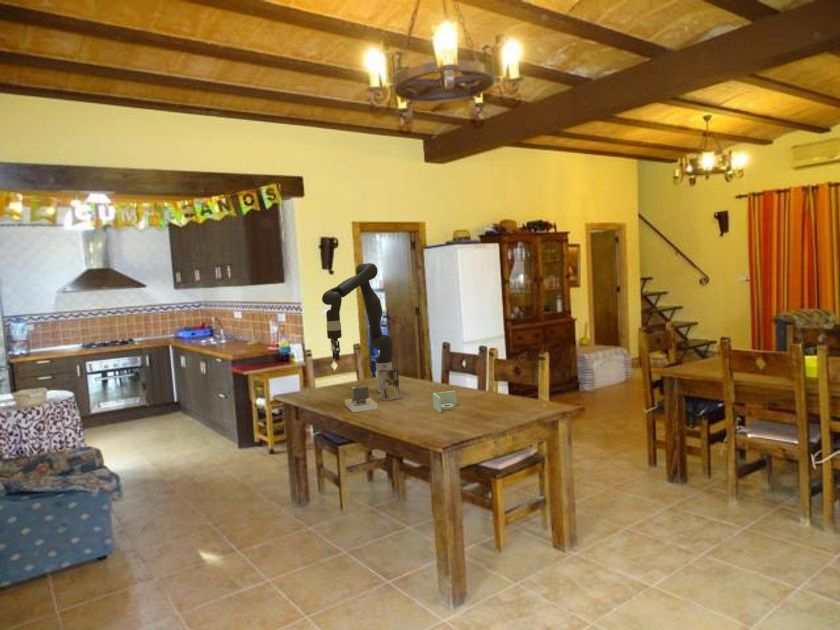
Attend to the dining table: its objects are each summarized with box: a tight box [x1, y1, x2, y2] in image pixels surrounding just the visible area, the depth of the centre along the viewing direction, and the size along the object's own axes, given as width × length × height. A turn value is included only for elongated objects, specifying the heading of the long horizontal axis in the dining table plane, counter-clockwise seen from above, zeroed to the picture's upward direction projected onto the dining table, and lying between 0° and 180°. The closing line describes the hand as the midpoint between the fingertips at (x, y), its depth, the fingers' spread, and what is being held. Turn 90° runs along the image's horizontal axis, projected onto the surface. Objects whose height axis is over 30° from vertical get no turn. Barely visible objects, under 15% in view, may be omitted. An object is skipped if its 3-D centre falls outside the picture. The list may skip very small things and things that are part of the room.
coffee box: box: [379, 368, 401, 402], centre depth 329 cm, size 9×6×16 cm
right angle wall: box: [432, 390, 457, 413], centre depth 300 cm, size 12×12×8 cm
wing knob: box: [351, 386, 370, 403], centre depth 312 cm, size 8×5×8 cm, turn 109°
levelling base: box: [344, 394, 378, 413], centre depth 314 cm, size 13×18×6 cm
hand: (336, 359), depth 319 cm, fingers open, 8 cm apart
